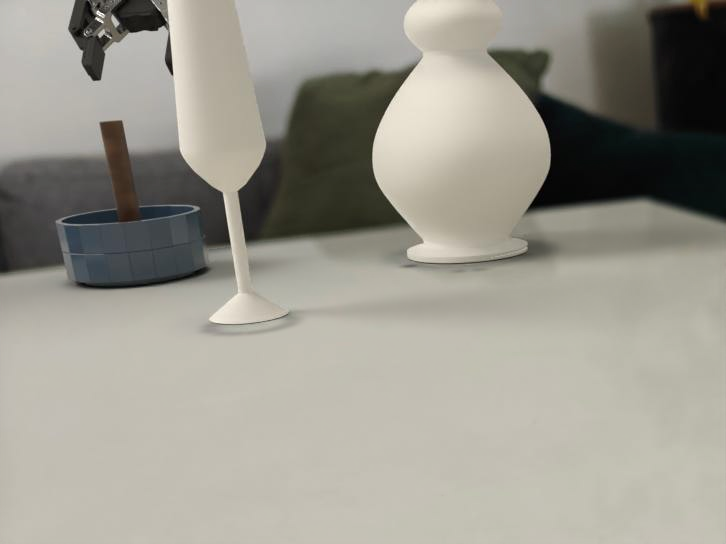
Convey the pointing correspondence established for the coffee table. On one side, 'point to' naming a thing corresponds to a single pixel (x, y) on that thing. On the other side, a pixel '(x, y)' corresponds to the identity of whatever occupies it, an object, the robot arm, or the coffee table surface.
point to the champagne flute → (219, 126)
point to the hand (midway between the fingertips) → (132, 72)
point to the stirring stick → (120, 170)
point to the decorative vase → (460, 139)
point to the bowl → (133, 245)
